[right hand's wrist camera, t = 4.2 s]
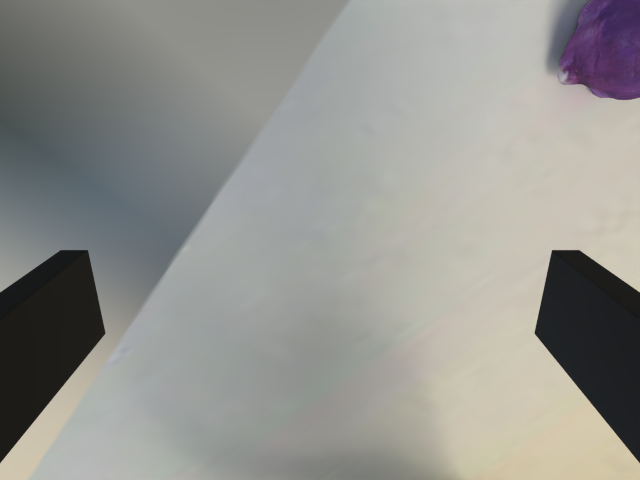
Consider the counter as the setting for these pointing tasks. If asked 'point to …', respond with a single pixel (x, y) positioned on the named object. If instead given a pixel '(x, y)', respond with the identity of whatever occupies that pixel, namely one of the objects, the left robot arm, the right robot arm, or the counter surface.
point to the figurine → (605, 50)
